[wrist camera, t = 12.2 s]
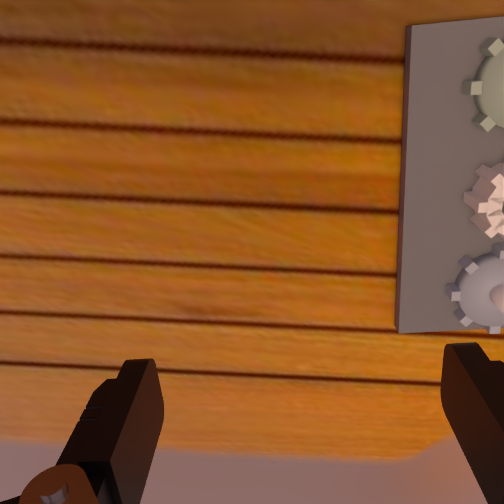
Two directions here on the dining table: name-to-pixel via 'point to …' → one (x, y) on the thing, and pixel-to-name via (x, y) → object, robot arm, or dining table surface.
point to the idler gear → (488, 200)
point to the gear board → (449, 177)
